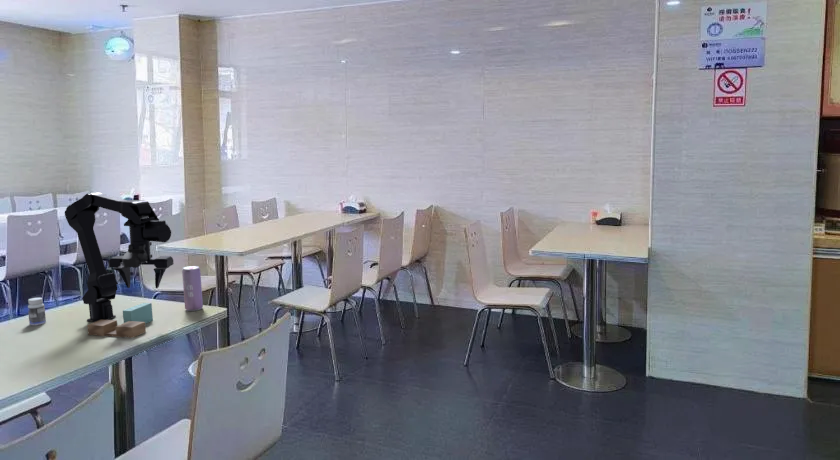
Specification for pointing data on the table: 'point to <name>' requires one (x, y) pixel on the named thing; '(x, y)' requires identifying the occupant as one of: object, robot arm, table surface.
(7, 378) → the table surface
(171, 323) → the table surface
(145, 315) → the teal upright brick
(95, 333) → the slotted block
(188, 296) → the beverage can
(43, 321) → the pill bottle
